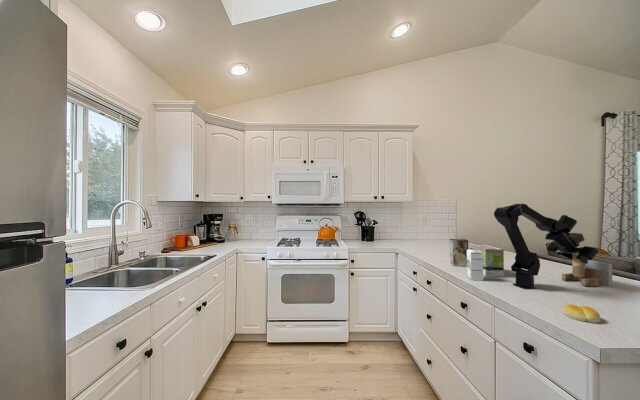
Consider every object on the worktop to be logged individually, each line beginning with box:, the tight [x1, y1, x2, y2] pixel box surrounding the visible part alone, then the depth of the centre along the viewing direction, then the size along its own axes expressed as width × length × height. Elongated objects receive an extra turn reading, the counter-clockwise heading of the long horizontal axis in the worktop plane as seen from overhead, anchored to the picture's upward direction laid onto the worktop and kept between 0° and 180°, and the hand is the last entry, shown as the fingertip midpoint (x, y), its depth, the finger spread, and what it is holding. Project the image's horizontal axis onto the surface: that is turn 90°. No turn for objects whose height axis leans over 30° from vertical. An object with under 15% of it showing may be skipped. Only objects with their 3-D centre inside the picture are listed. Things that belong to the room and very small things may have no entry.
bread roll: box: [561, 304, 602, 324], centre depth 86 cm, size 8×9×4 cm
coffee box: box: [449, 238, 470, 267], centre depth 158 cm, size 9×6×16 cm
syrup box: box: [466, 249, 484, 282], centre depth 130 cm, size 6×6×14 cm
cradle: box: [561, 267, 602, 287], centre depth 123 cm, size 9×10×7 cm
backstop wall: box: [585, 259, 613, 287], centre depth 124 cm, size 2×10×10 cm, turn 7°
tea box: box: [469, 244, 505, 278], centre depth 140 cm, size 15×10×15 cm
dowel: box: [571, 253, 586, 278], centre depth 123 cm, size 4×4×11 cm
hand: (581, 261), depth 123 cm, fingers closed on dowel, 4 cm apart
